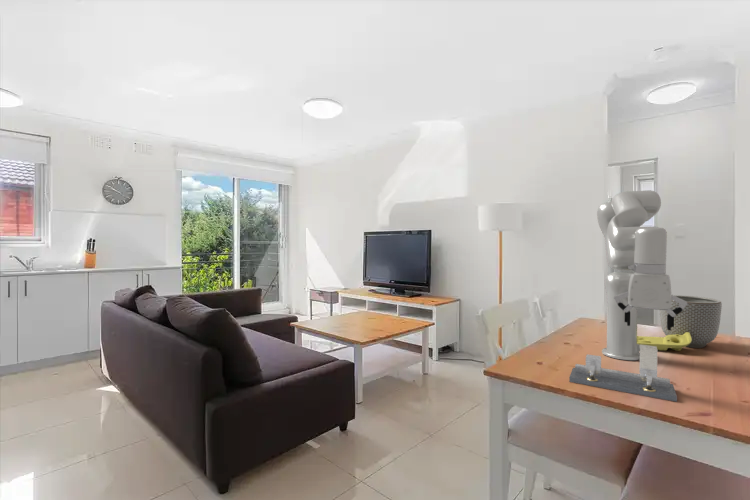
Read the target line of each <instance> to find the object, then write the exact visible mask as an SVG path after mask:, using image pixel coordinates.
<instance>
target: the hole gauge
mask: <svg viewBox="0 0 750 500" xmlns="http://www.w3.org/2000/svg"><path fill="white" fill-rule="evenodd" d="M568 382H570V383H575V384H580V385H584V386H590V387H595V388H600V389H607V390H610V391H611V390H612V391H618V392H622V393H628V394H632V395H633V394H634V395H638V394H639V396H643V395H644V396H643V397H648V396H649V398H655V399H660V400H665V401H671V402H676V403H677V402H678V395H677V393H676V390H675V387H674V384H673V383H671V380H670V378H665V377H661V376H659V377H658V376H657V379H656V378H652V388H647V387H646V382H647V378H646V377H643V376H640V373H634V372H629V371H622V370H616V369H611V368H603V367H602V356H600V355H593V354H588V353H587V354H586V356H585V364H579V363H575V365H574V367H572V370H571V372H570V374H569V381H568Z"/></svg>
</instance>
